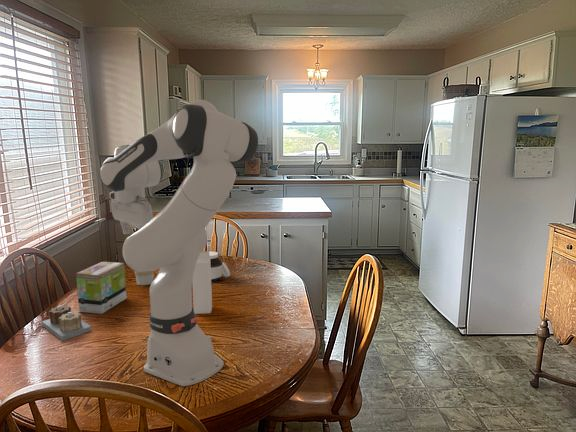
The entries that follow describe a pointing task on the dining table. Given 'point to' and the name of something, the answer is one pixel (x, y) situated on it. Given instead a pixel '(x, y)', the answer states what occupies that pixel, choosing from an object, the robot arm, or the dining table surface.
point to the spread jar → (217, 267)
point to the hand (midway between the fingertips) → (133, 236)
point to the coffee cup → (144, 277)
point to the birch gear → (70, 322)
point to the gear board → (67, 334)
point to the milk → (202, 284)
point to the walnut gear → (58, 313)
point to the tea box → (101, 287)
